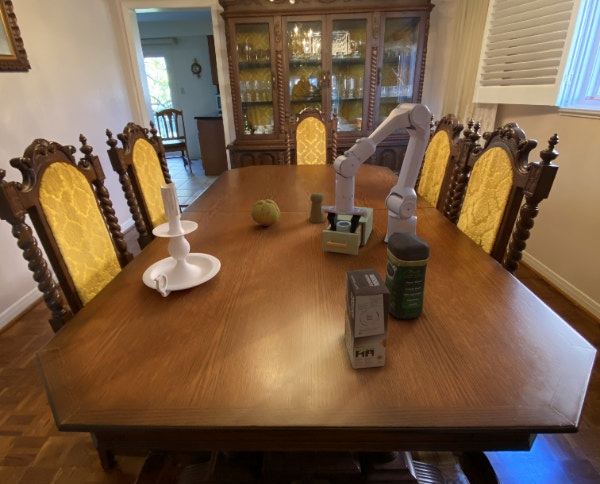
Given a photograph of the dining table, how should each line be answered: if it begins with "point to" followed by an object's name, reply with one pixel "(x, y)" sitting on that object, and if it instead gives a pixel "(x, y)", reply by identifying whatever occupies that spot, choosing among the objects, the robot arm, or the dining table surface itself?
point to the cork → (316, 208)
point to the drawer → (342, 240)
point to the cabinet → (365, 221)
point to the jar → (343, 226)
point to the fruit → (265, 212)
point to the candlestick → (178, 252)
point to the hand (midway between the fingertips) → (343, 235)
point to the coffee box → (366, 318)
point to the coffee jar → (406, 274)
